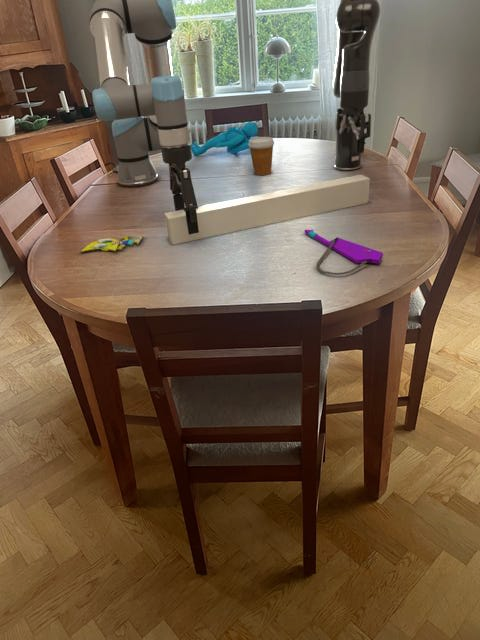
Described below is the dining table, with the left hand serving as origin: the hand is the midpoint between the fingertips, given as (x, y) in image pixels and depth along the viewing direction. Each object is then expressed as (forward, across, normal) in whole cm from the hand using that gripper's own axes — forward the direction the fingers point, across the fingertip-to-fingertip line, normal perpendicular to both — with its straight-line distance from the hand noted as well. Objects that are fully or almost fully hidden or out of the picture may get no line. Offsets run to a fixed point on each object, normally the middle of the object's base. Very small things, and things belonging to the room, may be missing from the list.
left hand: (187, 224), depth 132 cm
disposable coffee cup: (+3, +46, -41) cm, 61 cm away
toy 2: (+3, +81, -38) cm, 90 cm away
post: (+4, 0, -25) cm, 26 cm away
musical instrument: (+4, -29, -29) cm, 41 cm away
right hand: (-12, 0, -51) cm, 52 cm away
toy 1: (+4, +6, +20) cm, 22 cm away
